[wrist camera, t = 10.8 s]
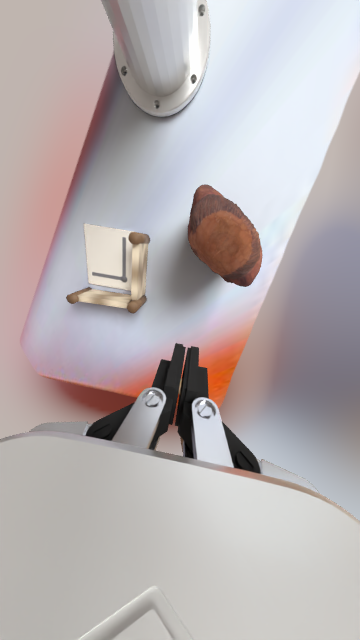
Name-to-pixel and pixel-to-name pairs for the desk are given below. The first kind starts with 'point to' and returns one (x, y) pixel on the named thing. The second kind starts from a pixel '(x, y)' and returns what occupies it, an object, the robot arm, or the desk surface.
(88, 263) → the card
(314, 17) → the desk surface
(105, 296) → the fence panel
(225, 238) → the wooden figurine
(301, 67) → the desk surface
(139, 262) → the fence fixed
